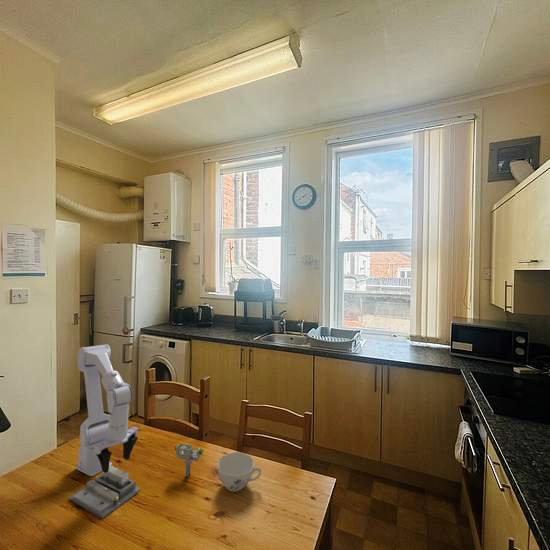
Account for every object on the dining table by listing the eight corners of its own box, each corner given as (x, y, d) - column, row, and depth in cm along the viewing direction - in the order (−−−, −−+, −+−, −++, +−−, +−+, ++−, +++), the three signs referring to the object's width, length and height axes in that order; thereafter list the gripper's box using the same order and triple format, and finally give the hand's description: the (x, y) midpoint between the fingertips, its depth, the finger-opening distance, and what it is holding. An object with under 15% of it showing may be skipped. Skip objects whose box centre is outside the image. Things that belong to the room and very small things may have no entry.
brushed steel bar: (102, 484, 98) (103, 469, 98) (109, 480, 100) (110, 465, 100) (121, 493, 94) (121, 477, 94) (127, 489, 96) (128, 473, 96)
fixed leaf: (69, 499, 92) (69, 488, 92) (108, 475, 103) (108, 466, 104) (102, 519, 85) (102, 507, 85) (140, 491, 97) (140, 481, 97)
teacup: (212, 498, 95) (213, 473, 95) (220, 473, 107) (221, 451, 107) (258, 501, 94) (259, 476, 94) (261, 475, 107) (262, 453, 107)
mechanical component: (198, 480, 103) (200, 451, 103) (172, 475, 105) (173, 447, 105) (202, 475, 106) (204, 447, 106) (176, 470, 108) (178, 442, 108)
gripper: (105, 436, 89) (102, 481, 89) (144, 417, 102) (142, 457, 102) (90, 430, 92) (88, 474, 92) (131, 412, 105) (128, 451, 105)
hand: (116, 464), depth 97 cm, fingers open, 7 cm apart
